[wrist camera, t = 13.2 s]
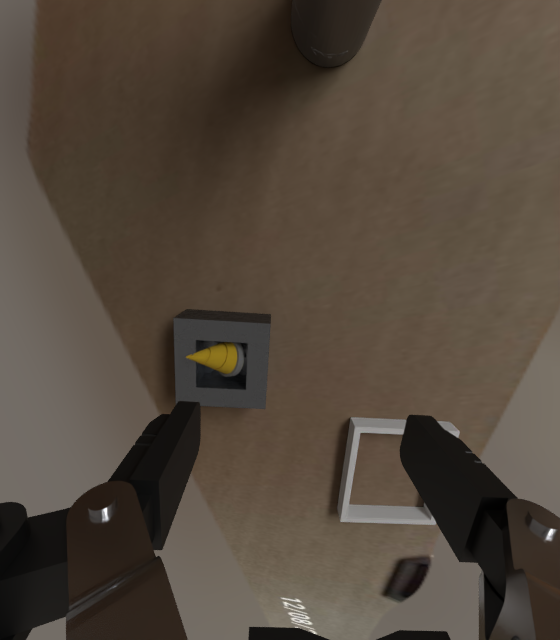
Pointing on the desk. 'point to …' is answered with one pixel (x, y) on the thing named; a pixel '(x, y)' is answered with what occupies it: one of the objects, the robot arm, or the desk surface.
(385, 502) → the desk surface
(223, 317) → the bit holder
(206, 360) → the drill bit
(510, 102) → the desk surface
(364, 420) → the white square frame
